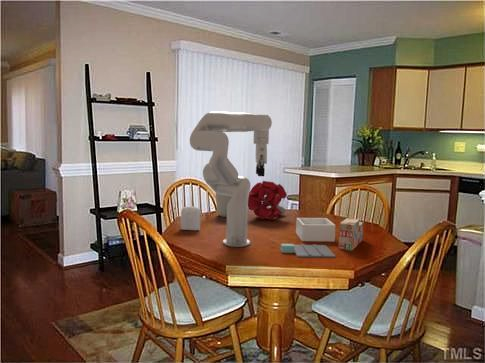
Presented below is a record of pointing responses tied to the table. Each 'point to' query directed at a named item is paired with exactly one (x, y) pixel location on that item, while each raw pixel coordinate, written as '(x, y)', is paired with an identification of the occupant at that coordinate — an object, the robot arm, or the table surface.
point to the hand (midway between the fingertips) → (260, 175)
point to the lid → (307, 250)
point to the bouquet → (266, 200)
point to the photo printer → (190, 218)
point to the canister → (222, 204)
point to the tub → (315, 229)
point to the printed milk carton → (350, 234)
